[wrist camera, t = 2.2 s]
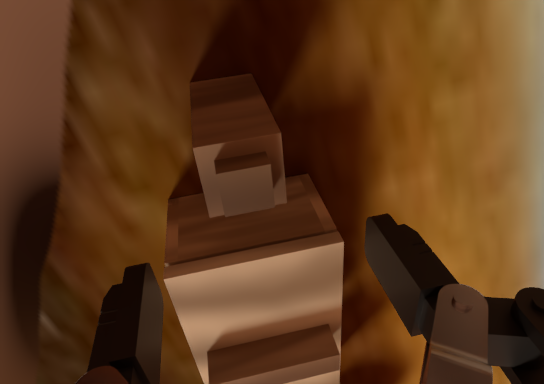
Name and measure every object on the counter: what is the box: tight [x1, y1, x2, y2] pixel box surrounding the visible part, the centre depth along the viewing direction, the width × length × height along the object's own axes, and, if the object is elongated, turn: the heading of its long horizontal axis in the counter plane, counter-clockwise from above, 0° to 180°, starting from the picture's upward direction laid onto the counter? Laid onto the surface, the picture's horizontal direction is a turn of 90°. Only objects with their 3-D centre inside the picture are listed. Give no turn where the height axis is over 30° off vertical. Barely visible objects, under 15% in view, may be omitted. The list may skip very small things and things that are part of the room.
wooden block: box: [190, 73, 287, 218], centre depth 21 cm, size 4×4×10 cm
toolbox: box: [165, 174, 337, 267], centre depth 31 cm, size 18×11×7 cm, turn 5°
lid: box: [164, 231, 344, 384], centre depth 27 cm, size 18×11×4 cm, turn 5°
